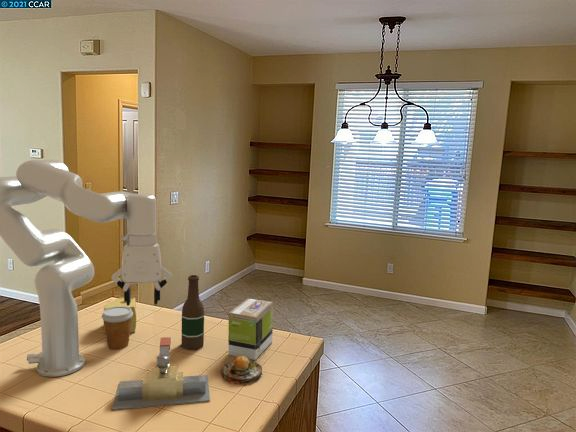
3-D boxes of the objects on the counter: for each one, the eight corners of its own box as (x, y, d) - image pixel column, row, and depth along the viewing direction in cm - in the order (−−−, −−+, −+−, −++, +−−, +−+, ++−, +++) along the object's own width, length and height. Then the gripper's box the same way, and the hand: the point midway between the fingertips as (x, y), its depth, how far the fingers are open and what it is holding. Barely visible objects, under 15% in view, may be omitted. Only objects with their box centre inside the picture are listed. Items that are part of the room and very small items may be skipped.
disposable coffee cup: (123, 336, 149) (123, 303, 147) (139, 345, 143) (138, 311, 141) (96, 345, 142) (96, 310, 140) (111, 355, 136) (111, 318, 134)
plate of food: (268, 369, 131) (269, 346, 130) (251, 389, 120) (252, 364, 119) (233, 361, 135) (233, 339, 134) (214, 379, 125) (214, 355, 123)
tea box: (246, 337, 153) (247, 297, 151) (273, 342, 150) (274, 301, 148) (227, 355, 139) (228, 311, 137) (255, 361, 136) (257, 316, 134)
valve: (117, 405, 110) (117, 374, 108) (121, 392, 115) (120, 363, 114) (205, 397, 115) (206, 368, 113) (204, 385, 120) (205, 357, 119)
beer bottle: (198, 351, 140) (199, 280, 137) (176, 348, 142) (177, 278, 138) (208, 341, 148) (209, 274, 144) (186, 338, 149) (187, 271, 146)
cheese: (106, 324, 159) (105, 298, 157) (137, 322, 162) (137, 296, 160) (103, 336, 149) (102, 308, 147) (136, 333, 152) (136, 306, 151)
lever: (169, 368, 113) (169, 359, 112) (156, 368, 112) (156, 360, 112) (171, 343, 127) (171, 335, 126) (160, 344, 126) (160, 336, 126)
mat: (112, 410, 108) (112, 408, 107) (120, 382, 120) (120, 381, 120) (209, 401, 113) (209, 400, 113) (207, 376, 126) (207, 374, 125)
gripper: (105, 243, 111) (106, 309, 113) (174, 242, 115) (174, 306, 117) (110, 237, 118) (111, 299, 121) (175, 237, 122) (175, 297, 125)
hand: (142, 302), depth 119 cm, fingers open, 6 cm apart
